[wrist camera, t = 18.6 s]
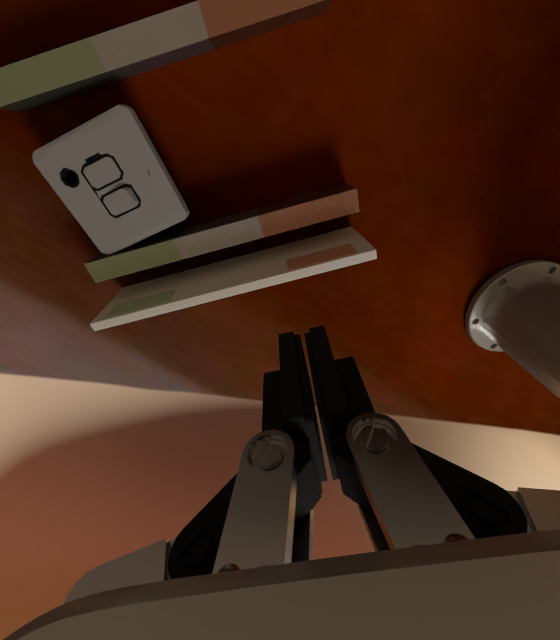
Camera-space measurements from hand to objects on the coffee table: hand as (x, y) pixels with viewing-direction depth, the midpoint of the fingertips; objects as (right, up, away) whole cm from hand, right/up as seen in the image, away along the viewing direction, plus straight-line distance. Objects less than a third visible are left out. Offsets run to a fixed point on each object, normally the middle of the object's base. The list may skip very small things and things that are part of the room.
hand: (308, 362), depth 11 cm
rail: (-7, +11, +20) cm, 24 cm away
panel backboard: (-6, +8, +22) cm, 24 cm away
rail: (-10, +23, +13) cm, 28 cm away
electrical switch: (-19, +13, +17) cm, 29 cm away
